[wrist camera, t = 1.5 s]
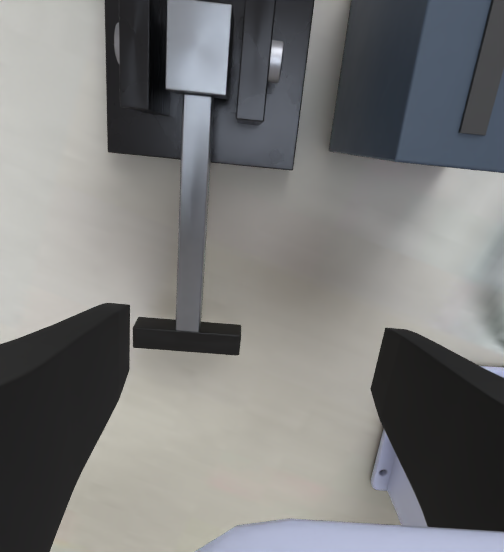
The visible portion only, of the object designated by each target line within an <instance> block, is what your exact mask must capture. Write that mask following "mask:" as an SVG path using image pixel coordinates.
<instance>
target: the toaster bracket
mask: <svg viewBox="0 0 504 552" xmlns="http://www.w3.org/2000/svg"><path fill="white" fill-rule="evenodd" d="M198 1H206V2H215V3H223V4H231V5H232V6H233V15H234V34H233V48H232V63H231V77H230V91H229V99H220V98H214V111H213V129H212V146H211V162H212V163H222V164H233V165H243V166H253V167H263V168H273V169H283V170H293V165H294V157H295V149H296V141H297V134H298V126H299V118H300V110H301V102H302V94H303V86H304V78H305V70H306V63H307V55H308V47H309V39H310V31H311V23H312V15H313V7H314V0H198ZM105 35H106V84H107V133H108V152H112V153H122V154H132V155H142V156H152V157H162V158H172V159H181V147H182V116H183V94H176V93H173V92H171V91H168V90H166V89H165V53H166V0H105Z"/></svg>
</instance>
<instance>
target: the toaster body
mask: <svg viewBox="0 0 504 552" xmlns="http://www.w3.org/2000/svg"><path fill="white" fill-rule="evenodd" d="M329 151H331V152H338V153H344V154H350V155H356V156H362V157H369V158H375V159H381V160H387V161H394V162H402V163H412V164H421V165H431V166H441V167H451V168H461V169H471V170H480V171H490V172H500V173H504V0H352V1H351V8H350V14H349V21H348V27H347V34H346V41H345V47H344V54H343V60H342V67H341V73H340V80H339V86H338V93H337V99H336V106H335V112H334V119H333V126H332V132H331V139H330V145H329Z"/></svg>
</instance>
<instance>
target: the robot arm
mask: <svg viewBox="0 0 504 552" xmlns="http://www.w3.org/2000/svg"><path fill="white" fill-rule="evenodd" d="M129 352H130V305H126V304H115V303H105V304H101V305H99V306H96V307H93V308H91V309H89V310H86V311H84V312H82V313H79V314H77V315H75V316H73V317H70V318H68V319H66V320H63V321H61V322H59V323H56V324H54V325H52V326H49V327H46V328H44V329H41V330H39V331H36V332H34V333H31V334H28V335H26V336H23V337H21V338H18V339H15V340H12V341H9V342H6V343H3V344H0V552H50V549H51V546H52V544H53V541H54V538H55V536H56V533H57V530H58V528H59V525H60V523H61V520H62V517H63V515H64V512H65V510H66V507H67V505H68V502H69V500H70V497H71V495H72V492H73V490H74V487H75V485H76V483H77V481H78V479H79V476H80V474H81V472H82V470H83V468H84V466H85V464H86V462H87V460H88V458H89V457H90V455H91V453H92V451H93V449H94V447H95V445H96V443H97V441H98V439H99V437H100V435H101V434H102V432H103V430H104V428H105V426H106V424H107V422H108V420H109V418H110V416H111V414H112V412H113V410H114V408H115V406H116V404H117V402H118V400H119V398H120V395H121V392H122V390H123V387H124V384H125V381H126V378H127V375H128V372H129ZM371 392H372V395H373V399H374V402H375V406H376V409H377V412H378V415H379V418H380V421H381V423H382V425H383V428H384V429H383V433H382V437H381V441H380V445H379V449H378V453H377V457H376V461H375V465H374V469H373V473H372V477H371V484H372V487H373V488H374V489H375V490H384V491H388V493H389V496H390V498H391V501H392V503H393V506H394V508H395V510H396V513H397V515H398V518H399V520H400V523H401V525H388V524H371V523H355V522H339V521H323V520H306V519H290V518H288V519H281V520H273V521H266V522H258V523H251V524H243V525H237V526H235V527H234V528H232V529H230V530H229V531H227V532H226V533H224V534H222V535H221V536H219V537H217V538H216V539H214V540H213V541H211V542H209V543H208V544H206V545H205V546H203V547H201V548H200V549H198V550H196V551H195V552H504V368H503V367H490V366H479V365H477V364H475V363H473V362H471V361H469V360H467V359H465V358H463V357H461V356H460V355H458V354H456V353H454V352H452V351H450V350H448V349H447V348H445V347H443V346H441V345H439V344H437V343H435V342H433V341H431V340H429V339H427V338H425V337H423V336H421V335H419V334H417V333H415V332H412V331H409V330H405V329H394V328H385V332H384V336H383V340H382V344H381V348H380V352H379V357H378V361H377V365H376V369H375V373H374V377H373V381H372V386H371ZM381 470H383V471H381Z"/></svg>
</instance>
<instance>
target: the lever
mask: <svg viewBox="0 0 504 552" xmlns="http://www.w3.org/2000/svg"><path fill="white" fill-rule="evenodd" d="M233 34H234V15H233V6H232V5H231V4H223V3H215V2H206V1H198V0H166V53H165V89H166V90H168V91H171V92H173V93H176V94H183V116H182V147H181V178H180V209H179V239H178V270H177V301H176V320H172V319H159V318H146V317H138V319H137V321H136V323H135V325H134V326H133V347H134V348H146V349H159V350H173V351H186V352H199V353H213V354H226V355H239V350H240V340H241V325H235V324H223V323H210V322H201V317H202V300H203V283H204V266H205V249H206V231H207V214H208V197H209V180H210V163H211V146H212V129H213V111H214V98H220V99H229V91H230V77H231V63H232V48H233Z"/></svg>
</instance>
